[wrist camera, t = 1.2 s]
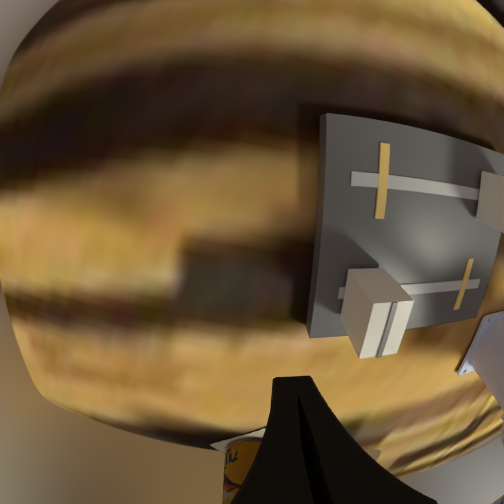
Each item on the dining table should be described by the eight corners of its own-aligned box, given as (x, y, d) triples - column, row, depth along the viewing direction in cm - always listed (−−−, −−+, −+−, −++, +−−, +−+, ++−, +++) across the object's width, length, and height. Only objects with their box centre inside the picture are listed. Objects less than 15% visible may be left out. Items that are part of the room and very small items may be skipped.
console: (498, 155, 15) (511, 157, 13) (467, 308, 20) (476, 317, 18) (319, 115, 14) (327, 112, 13) (305, 325, 19) (309, 339, 18)
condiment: (209, 443, 26) (200, 535, 14) (274, 423, 24) (282, 529, 13) (246, 464, 28) (246, 543, 17) (306, 446, 26) (319, 533, 15)
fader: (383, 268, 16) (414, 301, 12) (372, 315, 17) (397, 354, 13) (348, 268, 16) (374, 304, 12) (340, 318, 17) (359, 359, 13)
